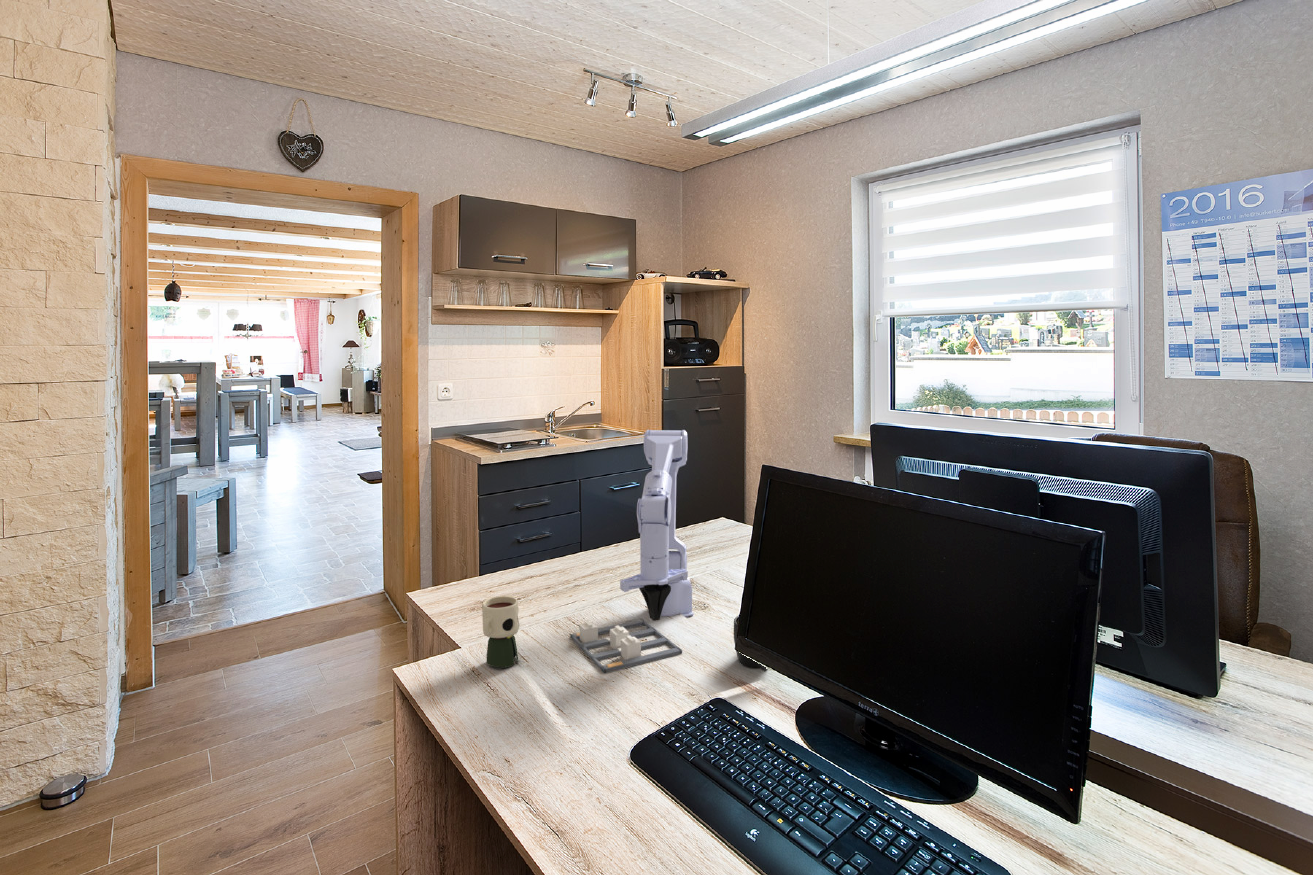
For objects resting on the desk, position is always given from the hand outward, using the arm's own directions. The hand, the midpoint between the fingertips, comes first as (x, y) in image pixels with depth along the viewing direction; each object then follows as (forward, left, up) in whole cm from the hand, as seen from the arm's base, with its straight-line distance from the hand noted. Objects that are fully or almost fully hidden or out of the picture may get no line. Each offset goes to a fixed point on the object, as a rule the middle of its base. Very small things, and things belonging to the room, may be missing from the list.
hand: (654, 618), depth 138 cm
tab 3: (+5, 0, -7) cm, 9 cm away
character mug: (+28, -12, -8) cm, 32 cm away
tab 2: (+5, -6, -7) cm, 11 cm away
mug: (-17, +12, -8) cm, 22 cm away
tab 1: (+10, -11, -7) cm, 17 cm away
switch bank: (+4, -6, -8) cm, 11 cm away
